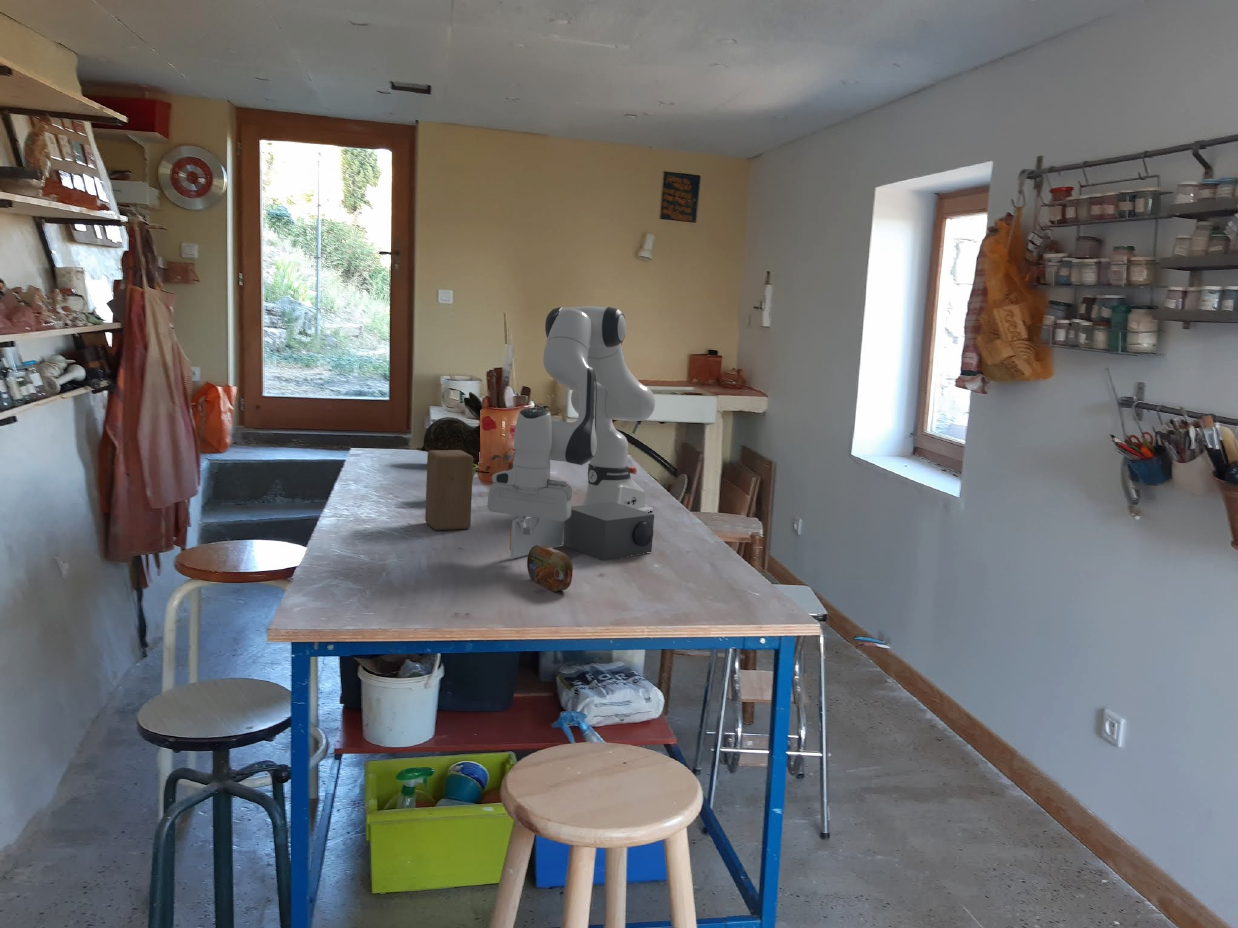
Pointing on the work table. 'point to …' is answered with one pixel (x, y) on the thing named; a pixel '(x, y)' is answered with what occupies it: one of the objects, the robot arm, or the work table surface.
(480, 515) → the work table surface
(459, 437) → the sculpture
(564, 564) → the tin
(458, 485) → the wooden block
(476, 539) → the work table surface
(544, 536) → the door
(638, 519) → the cabinet body
